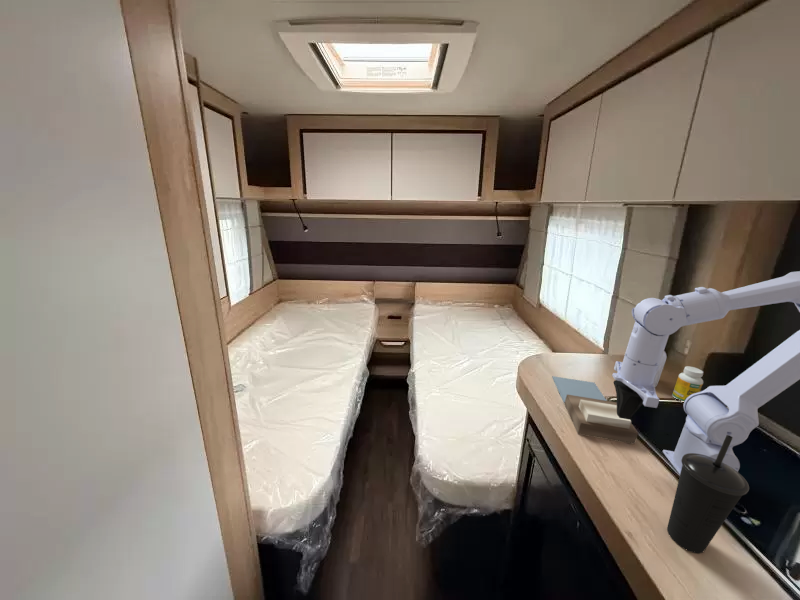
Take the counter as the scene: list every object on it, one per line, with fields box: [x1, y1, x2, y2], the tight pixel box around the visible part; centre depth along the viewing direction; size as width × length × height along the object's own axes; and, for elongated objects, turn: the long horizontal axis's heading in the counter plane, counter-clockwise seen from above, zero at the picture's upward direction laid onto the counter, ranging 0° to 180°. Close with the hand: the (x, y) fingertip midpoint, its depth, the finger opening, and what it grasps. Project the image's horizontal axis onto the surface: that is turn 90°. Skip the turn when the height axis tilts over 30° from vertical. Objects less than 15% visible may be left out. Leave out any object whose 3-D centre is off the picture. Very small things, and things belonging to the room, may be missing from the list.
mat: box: [551, 375, 608, 404], centre depth 95 cm, size 14×12×1 cm
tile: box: [579, 400, 632, 429], centre depth 80 cm, size 6×9×2 cm, turn 79°
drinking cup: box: [666, 435, 750, 554], centre depth 52 cm, size 8×8×20 cm
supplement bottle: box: [671, 365, 704, 401], centre depth 94 cm, size 5×5×10 cm
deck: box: [564, 395, 639, 445], centre depth 82 cm, size 12×12×3 cm
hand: (623, 416), depth 71 cm, fingers closed
